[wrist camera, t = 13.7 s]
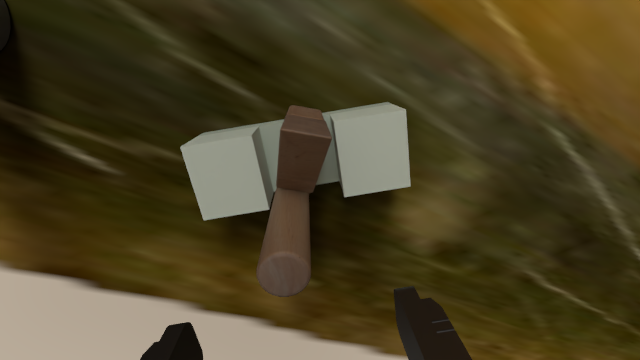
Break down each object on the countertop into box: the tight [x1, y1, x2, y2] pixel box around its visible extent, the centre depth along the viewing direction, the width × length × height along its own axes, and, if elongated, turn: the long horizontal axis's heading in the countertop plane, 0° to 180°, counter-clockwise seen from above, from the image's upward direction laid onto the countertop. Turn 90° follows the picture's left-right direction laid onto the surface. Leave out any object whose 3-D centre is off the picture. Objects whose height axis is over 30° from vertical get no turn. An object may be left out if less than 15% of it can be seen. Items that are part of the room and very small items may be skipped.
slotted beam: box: [180, 102, 411, 220], centre depth 34 cm, size 8×22×7 cm, turn 99°
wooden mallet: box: [256, 105, 332, 297], centre depth 27 cm, size 4×11×18 cm, turn 170°
